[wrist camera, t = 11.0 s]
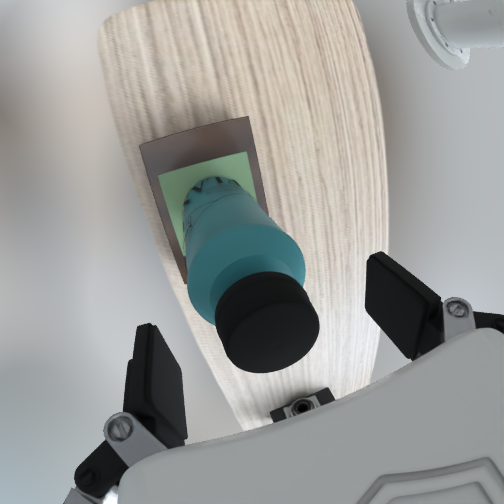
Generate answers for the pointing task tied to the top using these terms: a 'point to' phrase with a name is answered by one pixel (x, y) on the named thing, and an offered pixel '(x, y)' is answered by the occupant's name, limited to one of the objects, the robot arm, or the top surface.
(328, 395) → the camera
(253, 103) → the top surface
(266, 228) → the beverage bottle
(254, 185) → the shelf
